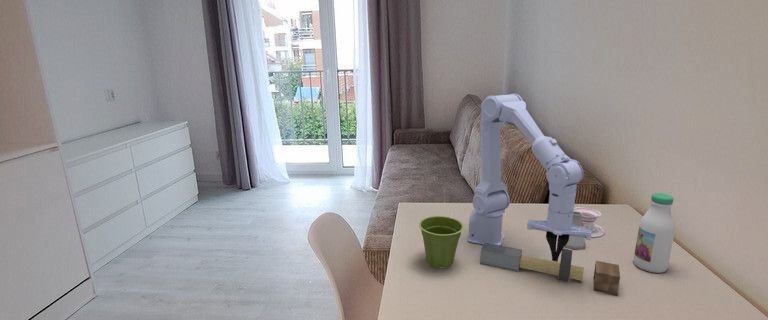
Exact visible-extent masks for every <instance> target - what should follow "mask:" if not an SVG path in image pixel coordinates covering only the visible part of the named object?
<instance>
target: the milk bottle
mask: <svg viewBox="0 0 768 320" xmlns="http://www.w3.org/2000/svg"><path fill="white" fill-rule="evenodd" d="M650 198H651V199H650V203H651V204H650V207H649V209H648V210H647V212H645V214H643V216H642V218H641V220H640V223H639V226H638V231H637V232H638V233H637V237H636V243H635V247H634V253H633V254H634V255H633V260H632V261H633V263H634V265H635V266H636V267H637V268H638V269H641V270H643V271H646V272H650V273H654V274H655V273H656V274H659V273H660V274H661V273H665V272H666V271H667V270H668V267H669V263H670V257H671V254H672V253H671V252H672V247H673V243H674V242H673V241H674V236H675V227H676V225H675V222H674V219H673V215H672V211H671V210H672V209H671V208H672V206H673V204H674V197H673V196H672V195H670V194H667V193H661V192H655V193H652V194H651V197H650Z"/></svg>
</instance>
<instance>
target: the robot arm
mask: <svg viewBox="0 0 768 320" xmlns="http://www.w3.org/2000/svg"><path fill="white" fill-rule="evenodd" d="M480 116H481V117H480V123H479V124H480V130H479V131H480V160H481V161H480V164H481V167H480V168H481V181H480V183H478V184H477V186H476V187H475V188H474V194H473V198H472V206H473V209H472V210H471V212H470V215H469V219H468V235H467V236H468V239H467V242H469V243H472V244H473V243H474V244H478V245H482V246H483V245H484V243H490V244H495V245H500V246H502V243H503V241H504V239H505V235H502V229H503V218H504V217H503V215H504V214H505V212H506V209H508V208H509V206H510V203H511V202H510V201H511V200H510V196H509V192H508V186H507V185H506V184H505V183H503V182H502V170H501V169H502V167H501V166H502V163H501V157H502V156H501V128H502V127H503V126H504V125H505V124H506V123H511V124H514V125H515V126H516V127H517V129H518V130H519V131H520V132H521V133H522V135H523V136H525V137H526V139H527V140H528V142H530V143H531V144H532V145H531V152H532V153H533V154H534V156H535V157H536V159H537V160H538V161H539V162H540V164H541V165H542V166H543V168H544V169H545V170H546V172H545V176H546V180H547V183H548V190H549V197H548V206H547V207H548V208H547V214H546V215H547V218H546V220H534V219H528V220H527V224H526V225H527V226H526V230H528V231H529V230H530V231H532V230H537V231H542V232H546V234H545V239H546V241H547V243H548V246H549V250H550V253H551V261H554V262H559V258H560V256H561V253H562V249H565V248H566V247H565V245H566V244H567V243H568V241H569V236H575V237H581V238H584V240H585V241H586V240H588V241H591V239H592V237H591V232H592V230H591V229H590V230H589V229H585V228H581V227H578V226H574V225H572V219H573V211H574V208H575V203H576V202H575V200H576V196H577V188H578V185H577V184H578V183H580V182H581V181H582V179H583V177H584V168H583V167H582V165H581V163H580V161H577V160H576V159H572V158H571V157H569V156H568V155H567V154H566V153H565V152H564V151H563V150H562V148H561V147H560V146H559V145H558V141H557V140H556V139H555V138H553V137H552V136H546V135H544V134H543V132H542V130H541V129H540V127H539V126H538V124H537V123H536V122H535V120H534V119H533V117H532V116H531V114H530V113H529V111H528V110H527V103H526V102H525V100H523V98H522V96H520V95H519V94H518V93H510V94H501V95H499V94H498V95H488V96H486V97H485V99H483V101H482V102H481V103H480Z"/></svg>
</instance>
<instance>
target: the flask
mask: <svg viewBox="0 0 768 320" xmlns="http://www.w3.org/2000/svg"><path fill="white" fill-rule="evenodd" d="M581 217H582V213H581V212H578V211H573V219H572V225H574V226H578V227H581ZM564 248H567V249H574V250H580V249H582V250H583V249H586V239H585V238H581V237H575V236H569V241H568V243H567V244H566V245H565V247H564Z"/></svg>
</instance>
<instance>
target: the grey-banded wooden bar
mask: <svg viewBox="0 0 768 320" xmlns="http://www.w3.org/2000/svg"><path fill="white" fill-rule="evenodd" d="M573 251H574V250H572V249H570V248H563V249H562V251H561V253H560V262H559V261H558V262H556V261H552V260H549V259H543V258H540V257H533V256H528V255H525V254H523V255H521V256H520V263H519V267H520V269H525V270H526V269H527V270H531V271H535V272H540V273H544V274H550V275H554V276H558V277H557V280H558V281H559V282H564V283H570V282H569V281H570V279H572V280H577V281H583V279H584V273H585V267H583V266H579V265H573V264H572V258H573Z"/></svg>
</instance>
